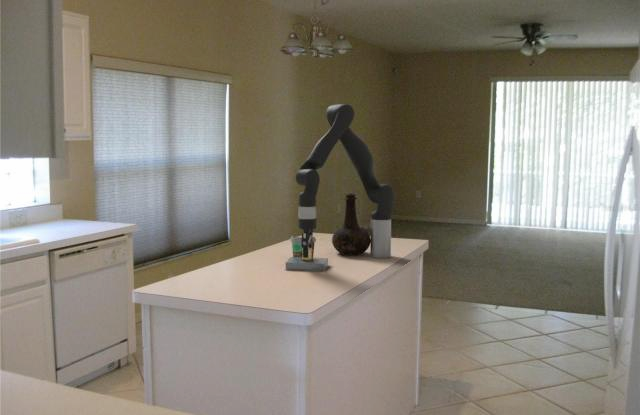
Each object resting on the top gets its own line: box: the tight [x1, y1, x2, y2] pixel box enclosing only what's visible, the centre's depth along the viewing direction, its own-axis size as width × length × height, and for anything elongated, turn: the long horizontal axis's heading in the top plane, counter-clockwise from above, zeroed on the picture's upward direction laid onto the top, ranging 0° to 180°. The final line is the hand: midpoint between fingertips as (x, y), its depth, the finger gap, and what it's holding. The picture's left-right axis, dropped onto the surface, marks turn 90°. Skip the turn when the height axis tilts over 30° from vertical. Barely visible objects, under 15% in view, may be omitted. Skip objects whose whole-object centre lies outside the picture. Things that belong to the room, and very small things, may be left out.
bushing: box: [302, 248, 312, 261], centre depth 266 cm, size 4×4×8 cm
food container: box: [289, 234, 317, 258], centre depth 284 cm, size 12×6×10 cm, turn 62°
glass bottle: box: [331, 193, 371, 256], centre depth 297 cm, size 18×18×28 cm
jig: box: [285, 256, 329, 272], centre depth 266 cm, size 16×12×3 cm
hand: (307, 255), depth 266 cm, fingers open, 8 cm apart
